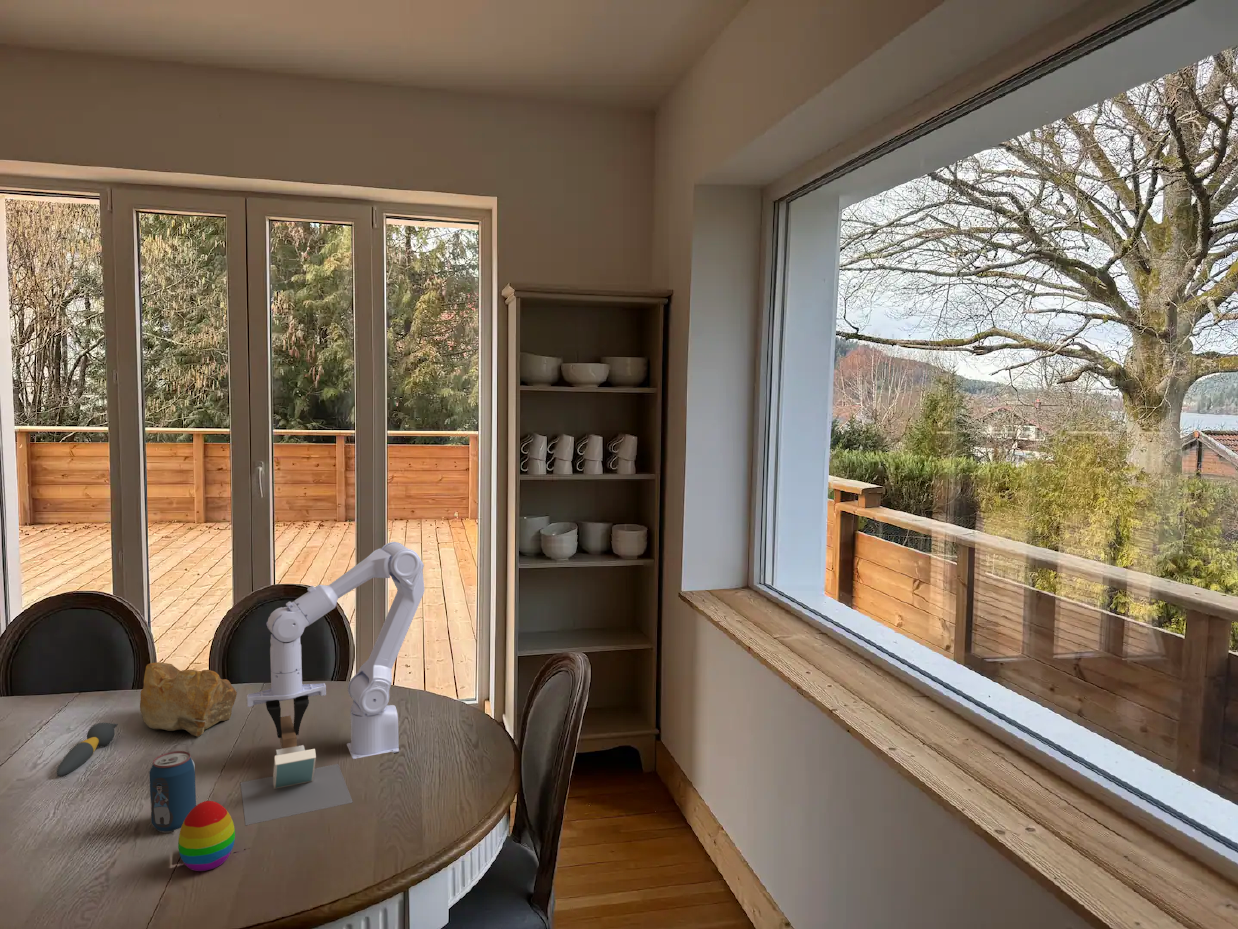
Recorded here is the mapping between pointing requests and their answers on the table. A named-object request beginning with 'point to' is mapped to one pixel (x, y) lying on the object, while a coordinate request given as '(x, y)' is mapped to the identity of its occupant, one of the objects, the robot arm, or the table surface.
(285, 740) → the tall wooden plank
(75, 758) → the paintbrush
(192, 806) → the soda can
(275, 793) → the mat
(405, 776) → the table surface
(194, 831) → the decorative egg
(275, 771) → the tile
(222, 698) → the rough brown rock
